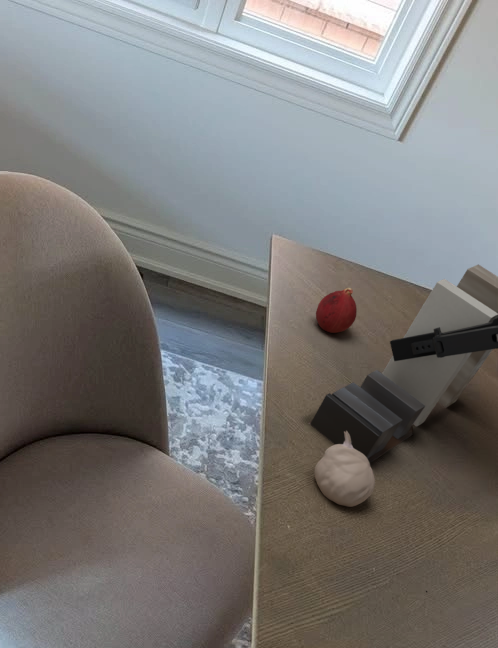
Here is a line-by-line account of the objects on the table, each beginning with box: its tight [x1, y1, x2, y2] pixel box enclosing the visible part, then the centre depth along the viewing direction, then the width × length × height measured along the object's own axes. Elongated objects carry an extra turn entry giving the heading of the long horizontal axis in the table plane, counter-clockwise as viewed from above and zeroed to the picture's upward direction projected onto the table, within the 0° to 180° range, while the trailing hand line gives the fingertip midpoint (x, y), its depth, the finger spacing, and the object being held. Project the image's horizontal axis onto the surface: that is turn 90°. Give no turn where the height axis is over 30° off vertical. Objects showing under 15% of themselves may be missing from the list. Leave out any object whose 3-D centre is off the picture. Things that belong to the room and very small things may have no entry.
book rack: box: [307, 264, 498, 464], centre depth 97 cm, size 26×9×19 cm, turn 133°
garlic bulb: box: [313, 431, 376, 508], centre depth 87 cm, size 7×6×8 cm
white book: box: [381, 278, 498, 427], centre depth 98 cm, size 2×8×18 cm, turn 43°
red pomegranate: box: [315, 287, 358, 334], centre depth 113 cm, size 6×6×8 cm
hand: (402, 346), depth 101 cm, fingers open, 4 cm apart
